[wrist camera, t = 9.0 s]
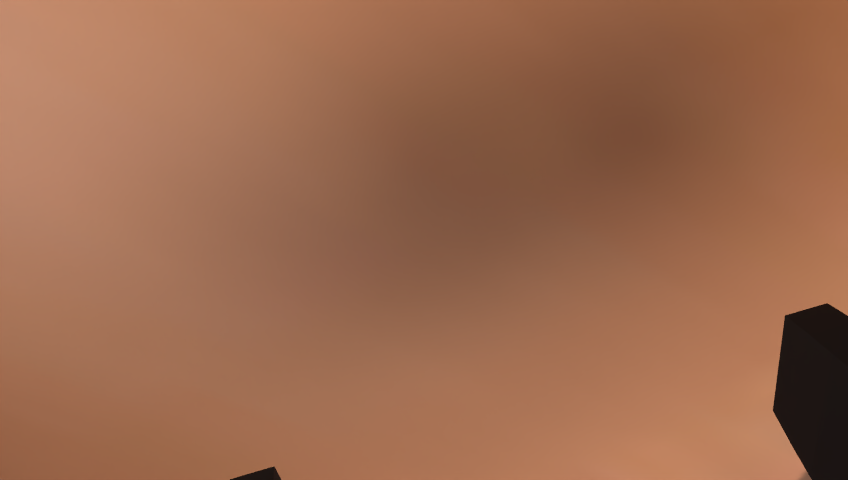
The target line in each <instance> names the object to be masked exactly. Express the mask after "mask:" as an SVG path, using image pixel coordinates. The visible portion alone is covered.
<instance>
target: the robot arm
mask: <svg viewBox="0 0 848 480" xmlns="http://www.w3.org/2000/svg"><path fill="white" fill-rule="evenodd" d="M773 412H774V413H775V415H776V417H777V419H778V421H779V423H780V424H781V426H782V428H783V430H784V432H785V433H786V435H787V437H788V439H789V441H790V443H791V444H792V446H793V448H794V450H795V452H796V453H797V455H798V457H799V458H800V460H801V462H802V464H803V465H804V467H805V469H806V470H807V472H808V474H809V476H810V477H811V479H812V480H848V316H847V315H845V314H844V313H842V312H840V311H839V310H837V309H836V308H834V307H832V306H831V305H829V304H827V303H826V304H823V305H820V306H816V307H813V308H810V309H806V310H803V311H799V312H796V313H793V314H789V315H786V316H785V321H784V328H783V336H782V344H781V352H780V360H779V367H778V375H777V383H776V391H775V399H774V406H773ZM230 480H281V479H280V477H279V475H278V473H277V471H276V469H275V467H271V468H267V469H264V470H260V471H257V472H254V473H250V474H247V475H244V476H240V477H237V478H233V479H230Z"/></svg>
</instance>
